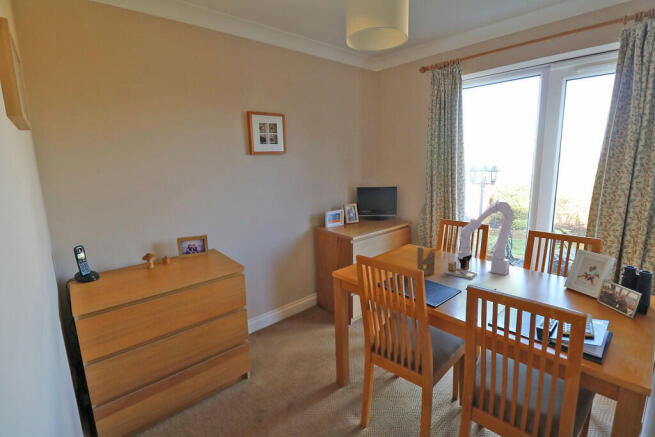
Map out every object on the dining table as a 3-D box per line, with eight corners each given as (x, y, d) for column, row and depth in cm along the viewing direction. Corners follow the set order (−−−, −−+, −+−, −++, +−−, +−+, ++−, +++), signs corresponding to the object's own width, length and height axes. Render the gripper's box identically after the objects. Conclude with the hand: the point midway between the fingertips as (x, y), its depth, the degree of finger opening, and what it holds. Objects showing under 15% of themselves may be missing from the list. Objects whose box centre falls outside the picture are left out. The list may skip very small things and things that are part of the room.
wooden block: (434, 274, 189) (434, 246, 186) (419, 276, 186) (419, 248, 183) (430, 272, 193) (431, 244, 189) (415, 274, 190) (415, 247, 186)
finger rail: (476, 275, 184) (477, 264, 183) (471, 279, 179) (472, 269, 177) (452, 269, 195) (452, 259, 193) (446, 273, 189) (446, 263, 188)
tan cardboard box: (462, 267, 198) (462, 259, 196) (469, 269, 194) (469, 260, 193) (460, 269, 195) (460, 260, 194) (467, 270, 192) (467, 262, 191)
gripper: (463, 242, 200) (462, 262, 202) (454, 248, 190) (453, 268, 192) (474, 244, 195) (474, 264, 197) (465, 249, 185) (465, 271, 188)
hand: (464, 266), depth 195 cm, fingers open, 5 cm apart
